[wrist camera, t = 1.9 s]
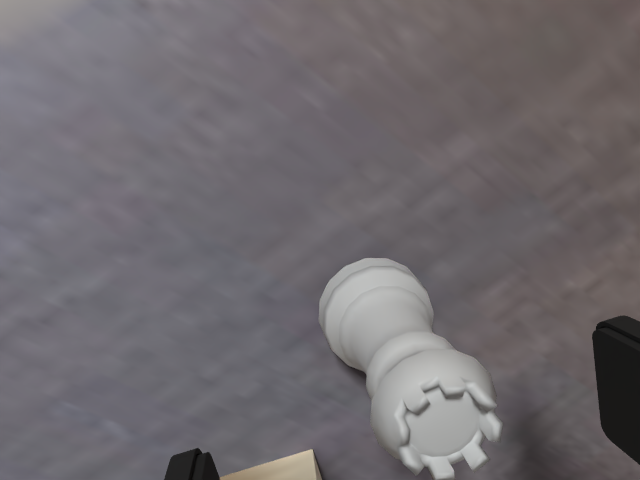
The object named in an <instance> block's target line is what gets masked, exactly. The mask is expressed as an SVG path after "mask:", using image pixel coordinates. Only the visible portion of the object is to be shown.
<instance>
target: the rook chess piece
mask: <svg viewBox="0 0 640 480" xmlns="http://www.w3.org/2000/svg"><path fill="white" fill-rule="evenodd" d="M319 323H320V325H321V328H322V330H323V333H324V335H325V338H326V340H327V341H328V344H329V346H330V349H331V350H332V351H333V352H334V353H335V354H336V355H337V356H339V357H340V358H341V359H342V360H343V361H344V362H345V363H346V364H347V365H348V366H351V367H353V368H356V369H359V370H361V371H364V372H365V374H366V375H367V379H366V388H367V391H368V394H369V396H370V399H371V401H372V405H371V419H370V423H371V426H372V428H373V431H374V434H375V436H376V439H377V441H378V443H379V444H380V445H381V446H382V447H383V448H384V449H385V450H386V451H387V452H388V453H389V454H391V455H392V456H393V457H394V458H396V459H399V460H402V463H403V464H404V465H405V466H406V467H407V468H408V469H409V470H410V471H411V472H412V473H413V474H414V475H416V476H417V475H418V474H419V473H420V472H421V470H422V469H423V468H424V467H427V468H428V469H429V472H430V474H431V476H432V478H433V480H455V477H454V470H453V468H452V467H451V465H452V464H455V463H457V462H459V461H462V460H464V459H466V461H467V462H468V464H469V466H470V467H471V469H472V470H473V472H474V473H475V472H476V471H478V470H479V469H480V468H481V467H482V466H483V465H485V464H486V463H487V462H488V461H489V460H490V459H489V457H488V456H487V454H486V453H485V451H484V450H483V449H482V447H481V445H482V443H483V441H484V439H485V438H486V437H487V439H488V440H489V441H495V442H500V441H501V434H502V427H503V423H502V422H501V420H500V419H499V418H498V417H497V416H496V414H495V413H494V410H495V407H497V404H496V396H497V395H496V392H495V389H494V385H493V382H492V379H491V375H490V374H489V373H488V372H487V371H486V369H485V368H484V367H483V366H482V365H481V364H480V363H479V362H478V361H477V360H476V359H475V358H473V357H471V356H468V355H466V354H463V353H461V352H458V351H456V350H455V349H454V348H453V347H452V346H451V345H450V343H449V342H448V341H447V340H446V339H445V338H443V337H440V336H438V335H435V334H434V333H433V331H432V323H433V309H432V306H431V303H430V300H429V297H428V293H427V290H426V289H425V288H424V286H423V285H422V284H421V283H420V281H419V280H418V279H417V278H416V277H415V276H414V274H413V273H412V272H411V271H410V270H409V269H408V268H407V267H406V266H404V265H401V264H399V263H397V262H394V261H392V260H390V259H388V258H365V259H362V260H360V261H357V262H355V263H352V264H349V265H347V266H345V267H344V268H343V269H341V270H340V271H339V272H338V273H337V274H336V275H335V276H334V277H333V278H332V279H331V280H330V281H329V282H328V284H327V286H326V288H325V290H324V292H323V295H322V297H321V299H320V303H319Z"/></svg>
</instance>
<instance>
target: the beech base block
mask: <svg viewBox="0 0 640 480" xmlns="http://www.w3.org/2000/svg"><path fill="white" fill-rule="evenodd" d="M219 478H220V480H322V478H321V475H320V472H319V468H318V465H317V462H316V459H315V455H314V452H313V449H311V450H308V451H304V452H301V453H298V454H295V455H291V456H288V457H285V458H282V459H278V460H275V461H272V462H268V463H265V464H262V465H259V466H255V467H252V468H249V469H246V470H242V471H239V472H236V473H233V474H229V475H226V476H223V477H219Z"/></svg>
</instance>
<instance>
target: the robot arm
mask: <svg viewBox="0 0 640 480" xmlns="http://www.w3.org/2000/svg"><path fill="white" fill-rule="evenodd" d="M592 339H593V349H594V359H595V370H596V380H597V390H598V400H599V410H600V420H601V426H602V429H603V431H604V433H605V435H606V436H607V437H608V438H609V440H611V441H612V442H613V443H614V444H615V445H616V446H618V447H619V448H620V449H621V450H622V451H624V452H625V453H626V454H627V455H628V456H630V457H631V458H632V459H633V460H635V461H636V462H637V463H638V464H639V465H640V322H639V321H637V320H635V319H633V318H630V317H628V316H618V317H615V318H612V319H609V320H606V321H602V322H600V323H598V324H597V326H596V330H595V331H594V332H593V334H592ZM164 480H220V478H219V475H218V472H217V470H216V467H215V464H214V462H213V459H212V456H211V454H210V453H209V452H207V453H204V454H202V452H201V450H200V449H199V448H196V449H193V450H190V451H187V452H183V453H180V454H177V455H174V456H172V457H171V459H170V462H169V465H168V469H167V472H166V475H165V479H164Z"/></svg>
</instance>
